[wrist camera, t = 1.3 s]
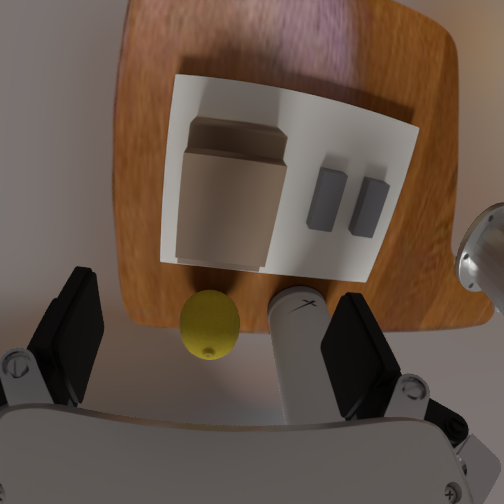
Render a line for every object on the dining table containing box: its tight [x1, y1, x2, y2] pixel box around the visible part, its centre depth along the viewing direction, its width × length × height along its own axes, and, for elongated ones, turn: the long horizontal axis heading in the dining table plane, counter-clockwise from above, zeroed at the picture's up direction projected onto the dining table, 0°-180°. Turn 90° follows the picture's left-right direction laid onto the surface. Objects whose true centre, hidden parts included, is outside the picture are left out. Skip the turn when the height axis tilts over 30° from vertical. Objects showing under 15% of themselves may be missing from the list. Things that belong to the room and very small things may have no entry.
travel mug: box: [267, 286, 345, 425], centre depth 25 cm, size 6×7×20 cm
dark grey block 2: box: [348, 176, 390, 238], centre depth 25 cm, size 2×5×1 cm, turn 170°
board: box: [160, 74, 419, 282], centre depth 26 cm, size 20×16×2 cm
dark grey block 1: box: [306, 167, 348, 232], centre depth 25 cm, size 2×5×1 cm, turn 170°
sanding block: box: [175, 115, 288, 272], centre depth 22 cm, size 6×10×6 cm, turn 170°
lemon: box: [180, 290, 240, 360], centre depth 28 cm, size 6×6×8 cm
